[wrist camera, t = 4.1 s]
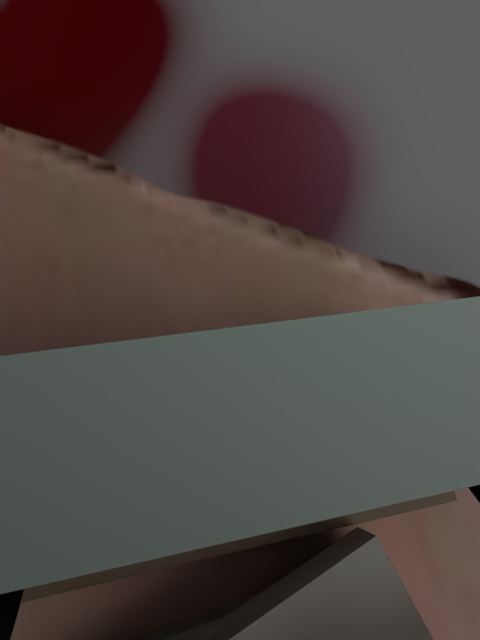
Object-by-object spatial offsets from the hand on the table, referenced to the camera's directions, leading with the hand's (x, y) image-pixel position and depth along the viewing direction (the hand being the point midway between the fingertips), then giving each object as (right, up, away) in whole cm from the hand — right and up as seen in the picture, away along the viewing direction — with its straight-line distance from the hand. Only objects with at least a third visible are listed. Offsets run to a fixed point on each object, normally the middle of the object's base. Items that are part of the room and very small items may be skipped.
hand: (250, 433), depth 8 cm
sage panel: (-1, -3, +7) cm, 7 cm away
